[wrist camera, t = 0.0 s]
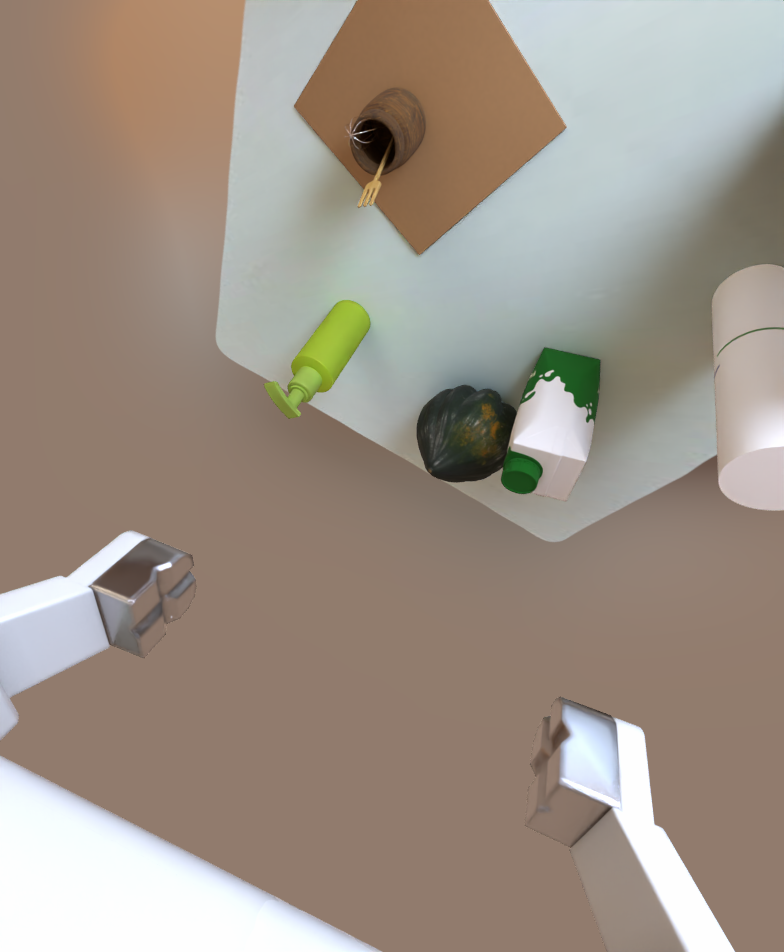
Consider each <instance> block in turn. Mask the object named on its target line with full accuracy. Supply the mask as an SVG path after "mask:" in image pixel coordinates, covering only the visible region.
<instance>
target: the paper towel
mask: <svg viewBox="0 0 784 952" xmlns="http://www.w3.org/2000/svg"><path fill="white" fill-rule="evenodd" d="M395 87H398V88H403V89H406V90H408V91H410V92H411V93H412V94H413V95H414V96H415V97H416V98H417V99H418V100H419V102H420V104H421V106H422V108H423V110H424V114H425V120H426V129H425V134H424V138H423V140H422V142H421V144H420V146H419V148H418V149H417V150H416V152H415V153H414V154H413V155H412V156H411V157H410V158H409V160H408V161H407V162H406V163H405V164H403V165H402V166H401V167H399V168H397V169H395V170H393V171H392V172H390V173H388V174H386V175H382V176H380V177H379V179H378V181H380V183H381V187H380V189H379V191H378V193H377V196H376V198H375V200H374V202H375V203H376V204H377V205H378V207H379V208H380V209H381V210H382V211H383V212H384V214H385V215H386V216H387V217H388V218H389V220H390V221H391V222H392V223H393V224H394V225H395V227H396V228H397V229H398V230H399V231H400V233H401V234H402V235H403V236H404V237H405V238H406V240H407V241H408V242H409V243H410V244H411V246H412V247H413V248H414V249H415V250H416V252H417V253H418V254H419V255H420V254H421V253H423V252H424V251H425V250H426V249H427V248H428V247H429V246H431V245H432V244H433V243H434V242H435V241H436V240H437V239H439V238H440V237H441V236H442V235H443V234H444V233H446V232H447V231H448V230H449V229H450V228H451V227H452V226H454V225H455V224H456V223H457V222H458V221H459V220H461V219H462V218H463V217H464V216H465V215H466V214H467V213H469V212H470V211H471V210H472V209H473V208H474V207H475V206H477V205H478V204H479V203H480V202H481V201H482V200H484V199H485V198H486V197H487V196H488V195H489V194H490V193H492V192H493V191H494V190H495V189H496V188H497V187H499V186H500V185H501V184H502V183H503V182H504V181H505V180H507V179H508V178H509V177H510V176H511V175H512V174H513V173H515V172H516V171H517V170H518V169H519V168H520V167H522V166H523V165H524V164H525V163H526V162H527V161H528V160H530V159H531V158H532V157H533V156H534V155H535V154H537V153H538V152H539V151H540V150H541V149H542V148H543V147H545V146H546V145H547V144H548V143H549V142H550V141H552V140H553V139H554V138H555V137H556V136H557V135H558V134H560V133H561V132H562V131H563V130H564V129H565V128H566V127H567V126H566V125H565V123H564V122H563V120H562V118H561V117H560V115H559V113H558V112H557V110H556V109H555V107H554V105H553V104H552V102H551V101H550V99H549V97H548V96H547V94H546V92H545V91H544V89H543V88H542V86H541V84H540V83H539V81H538V79H537V78H536V76H535V75H534V73H533V71H532V70H531V68H530V67H529V65H528V63H527V62H526V60H525V58H524V57H523V55H522V54H521V52H520V50H519V49H518V47H517V46H516V44H515V42H514V41H513V39H512V37H511V36H510V34H509V33H508V31H507V29H506V28H505V26H504V25H503V23H502V21H501V20H500V18H499V16H498V15H497V13H496V12H495V10H494V8H493V7H492V5H491V4H490V2H489V0H358V1H357V2H356V4H355V6H354V7H353V9H352V11H351V12H350V14H349V16H348V17H347V19H346V21H345V22H344V24H343V26H342V27H341V29H340V31H339V32H338V34H337V36H336V37H335V39H334V41H333V42H332V44H331V46H330V47H329V49H328V51H327V52H326V54H325V56H324V57H323V59H322V60H321V62H320V64H319V65H318V67H317V69H316V70H315V72H314V74H313V75H312V77H311V79H310V80H309V82H308V84H307V85H306V87H305V89H304V90H303V92H302V94H301V95H300V97H299V99H298V100H297V102H296V104H295V105H294V107H295V108H296V110H297V111H298V112H299V113H300V114H301V115H302V117H303V118H304V119H305V120H306V121H307V123H308V124H309V125H310V126H311V127H312V128H313V130H314V131H315V132H316V133H317V134H318V136H319V137H320V138H321V139H322V140H323V141H324V143H325V144H326V145H327V146H328V147H329V149H330V150H331V151H332V152H333V153H334V154H335V156H336V157H337V158H338V159H339V160H340V162H341V163H342V164H343V165H344V166H345V167H346V169H347V170H348V171H349V172H350V173H351V175H352V176H353V177H354V178H355V179H356V181H357V182H358V183H359V184H360V185H361V186H362V188H363V189H365V187H366V185H367V184H368V183H370V182H372V181H373V180H374V178H375V175H371V174H369V173H367V172H366V171H364V170H363V169H362V168H361V167H360V166H359V165H358V164H357V162H356V160H355V159H354V157H353V154H352V151H351V147H350V146H349V145H350V142H349V140H350V136H348V135H350V134H351V132H350V124H349V123H352V124H351V130H352V128H353V125H354V122H356V120H357V119H358V117H357V116H359V115H360V113H361V111H362V110H363V109H364V107H365V106H366V105H367V104H368V103H369V102H370V101H371V100H373V99H374V98H375V97H376V96H377V95H379V94H380V93H381V92H383V91H385V90H387V89H390V88H395ZM354 117H356V118H354ZM353 118H354V119H353ZM352 119H353V120H352ZM351 120H352V122H351ZM347 124H348V125H347ZM345 126H346V128H345ZM346 129H347V130H346ZM347 131H348V132H349V133H350V134H349V133H348V132H347ZM345 136H348V137H345ZM373 193H374V191H373ZM373 193H372V195H371V198H372V196H373ZM367 194H368V193H367Z"/></svg>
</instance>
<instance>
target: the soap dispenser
mask: <svg viewBox="0 0 784 952" xmlns="http://www.w3.org/2000/svg"><path fill="white" fill-rule="evenodd" d="M369 328H370V319H369V316H368V314H367V312H366V311H365V310H364V308H363V307H362V306H360V305H359V304H357V303H355V302H353V301H350V300H343V301H340V302H338V303H337V304H336V305H335V306H334V307H333V309H332V310H331V311H330V313H329V314H328V315H327V317H326V318H325V319H324V321H323V322H322V323H321V324H320V326H319V327H318V328H317V330H316V331H315V332H314V334H313V335H312V336H311V338H310V339H309V340H308V342H307V343H306V344H305V345H304V347H303V348H302V349H301V351H300V352H299V353H298V355H297V356H296V357H295V359H294V360H293V362H292V365H291V368H292V372H293V375H294V377H293V378H292V380H291V381H290V382H289V384H288V391H289V393H290V394H289V396H288V397H287V396H286V395H285V394H284V392H283V391H282V389H281V388H280V386H279V384H278V382H275V381H273V382H269V383H265V384H264V387H265V389H266V391H267V392H268V394H269V396H270V397H271V399H272V400H273V402H274V403H275V404H276V406H277V407H278V408H279V409H280V410H281V411H282V412H283V413H284V414H285V416H286V417H288V418H289V419H290V418H295V417H299V416H300V415H301V413H300V412H299V411H298V410H297V407H298V406H299V404H300V403H301V402H309V401H310V400H311V399H312V398H313V396H314V395H315V393H316V392H326V391H328V390H329V389H330V388H331V387H332V385H333V384H334V382H335V381H336V379H337V378H338V376H339V375H340V373H341V372H342V370H343V369H344V367H345V365H346V364H347V362H348V361H349V359H350V358H351V356H352V355H353V353H354V352H355V350H356V349H357V347H358V346H359V344H360V343H361V341H362V340H363V338H364V336H365V335H366V333H367V332H368V330H369Z"/></svg>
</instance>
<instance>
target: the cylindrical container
mask: <svg viewBox="0 0 784 952" xmlns="http://www.w3.org/2000/svg"><path fill="white" fill-rule="evenodd" d="M712 329H713V355H714V379H715V380H714V381H715V406H716V431H717V457H718V481H719V486H720V489H721V491H722V492H723V493H724V494H725V495H726V497H728V498H729V499H731V500H732V501H734V502H736V503H738V504H740V505H743V506H746V507H750V508H755V509H760V510H784V268H783V267H781V266H777V265H773V264H761V265H755V266H750V267H747V268H744V269H742V270H739V271H737V272H736V273H734V274H732V275H731V276H729V277H728V278H727V279H725V280H724V281H723V282H722V283H721V284H720V286H719V287H718V288H717V290H716V291H715V293H714V296H713V298H712Z"/></svg>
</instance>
